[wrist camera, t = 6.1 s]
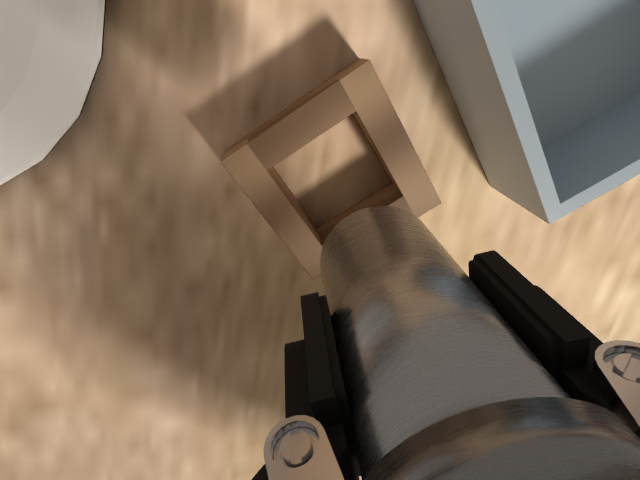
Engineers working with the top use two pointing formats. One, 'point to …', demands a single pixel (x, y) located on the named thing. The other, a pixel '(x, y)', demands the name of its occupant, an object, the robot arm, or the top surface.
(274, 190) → the socket block
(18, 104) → the plate
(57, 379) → the top surface
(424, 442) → the peg
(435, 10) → the bin
